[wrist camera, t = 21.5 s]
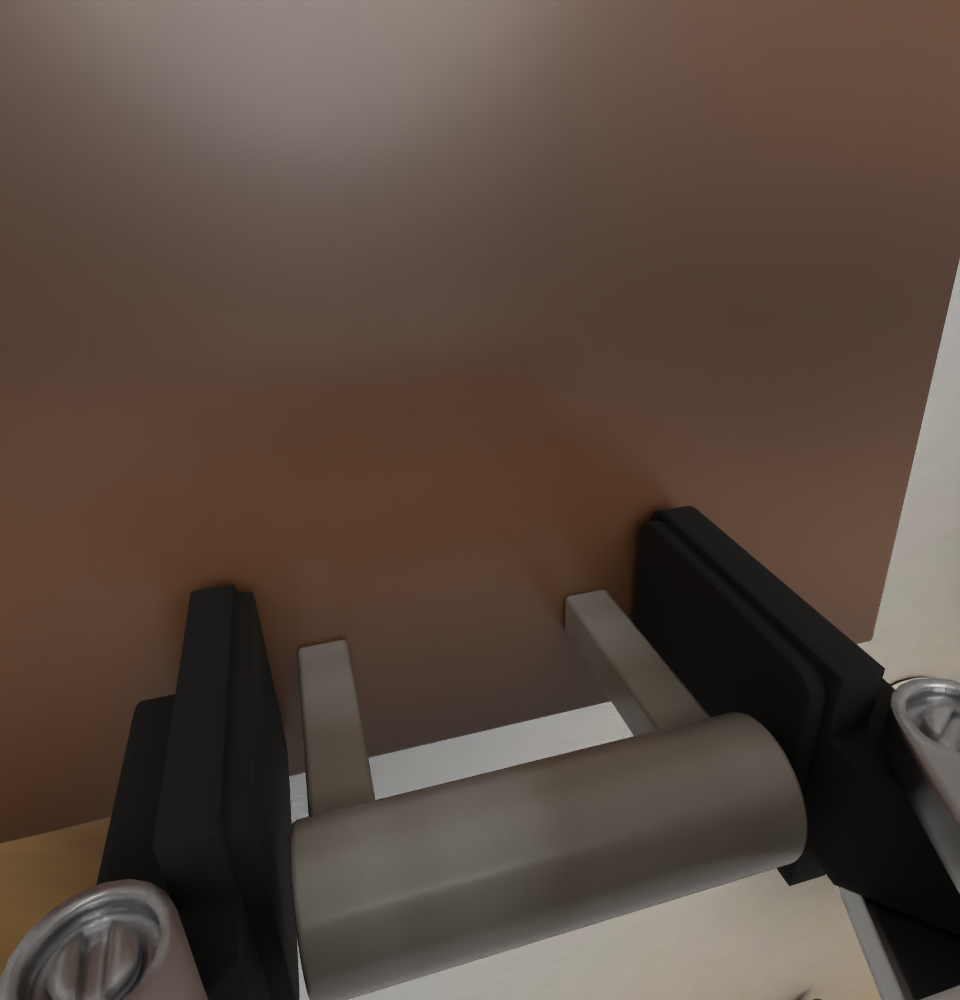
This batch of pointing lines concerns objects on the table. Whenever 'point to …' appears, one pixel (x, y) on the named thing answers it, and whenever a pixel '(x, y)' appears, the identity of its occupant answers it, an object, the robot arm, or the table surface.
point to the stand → (45, 877)
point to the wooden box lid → (455, 408)
